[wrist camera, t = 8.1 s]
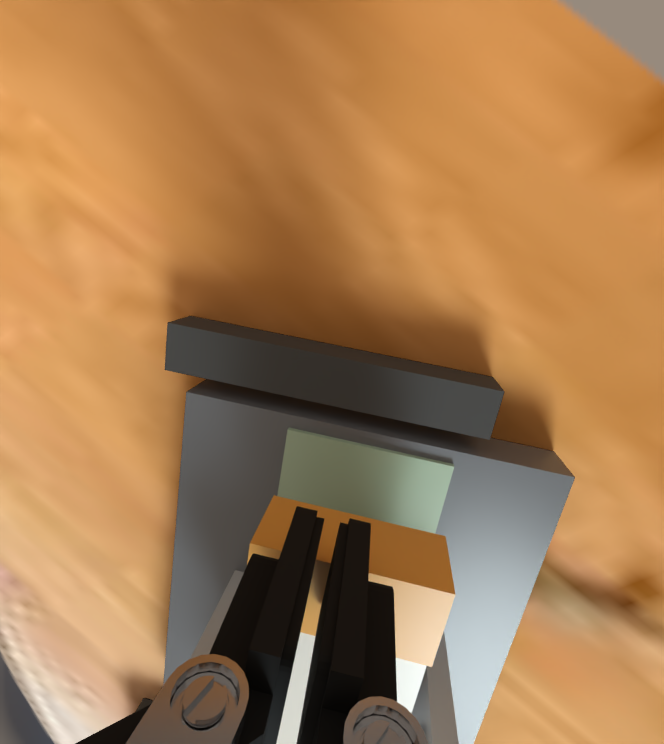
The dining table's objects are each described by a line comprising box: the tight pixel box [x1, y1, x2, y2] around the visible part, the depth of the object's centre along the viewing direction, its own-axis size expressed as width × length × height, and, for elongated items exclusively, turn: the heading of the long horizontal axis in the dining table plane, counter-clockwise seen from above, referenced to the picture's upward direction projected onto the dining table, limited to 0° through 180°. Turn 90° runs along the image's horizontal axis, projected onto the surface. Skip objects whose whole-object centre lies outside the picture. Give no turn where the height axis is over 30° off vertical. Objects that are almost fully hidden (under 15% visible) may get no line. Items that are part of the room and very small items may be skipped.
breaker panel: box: [163, 379, 575, 744], centre depth 16 cm, size 14×17×7 cm
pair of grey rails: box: [136, 316, 504, 712], centre depth 19 cm, size 13×25×2 cm, turn 170°
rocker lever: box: [247, 495, 456, 744], centre depth 14 cm, size 6×14×2 cm, turn 170°
